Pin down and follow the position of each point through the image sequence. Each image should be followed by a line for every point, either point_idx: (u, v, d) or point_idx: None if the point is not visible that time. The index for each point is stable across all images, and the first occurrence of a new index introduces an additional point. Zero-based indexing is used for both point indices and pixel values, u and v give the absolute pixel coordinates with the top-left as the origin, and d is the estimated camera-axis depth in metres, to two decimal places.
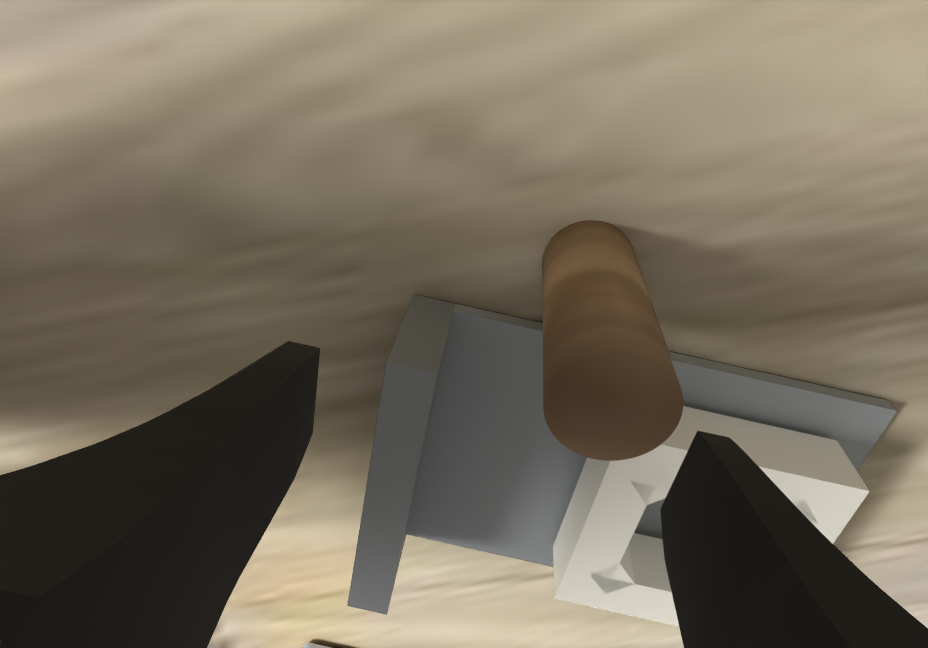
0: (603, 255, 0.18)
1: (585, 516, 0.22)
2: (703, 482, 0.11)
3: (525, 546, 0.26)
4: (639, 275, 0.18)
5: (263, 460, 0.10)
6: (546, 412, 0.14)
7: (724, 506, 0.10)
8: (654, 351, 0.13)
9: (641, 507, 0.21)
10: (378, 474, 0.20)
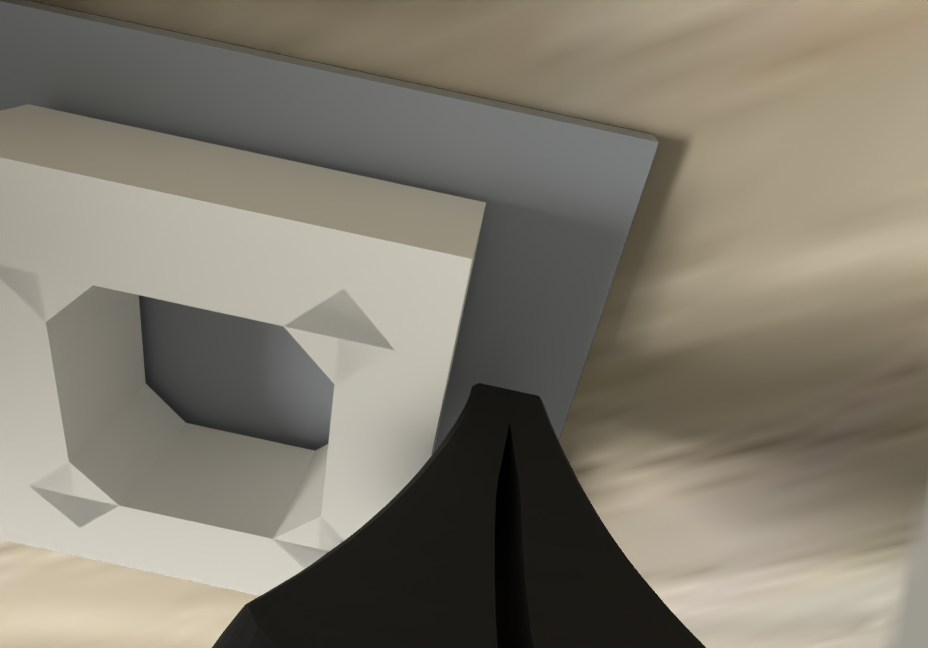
0: None
1: None
2: None
3: None
4: None
5: None
6: None
7: (504, 458, 0.10)
8: None
9: (39, 328, 0.10)
10: None
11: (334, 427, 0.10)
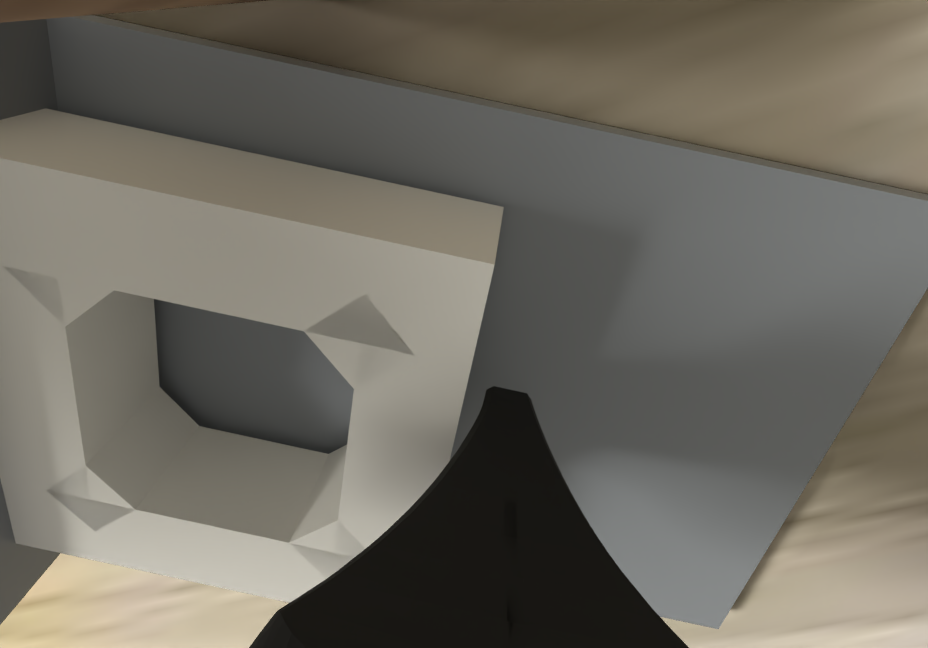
0: None
1: None
2: None
3: None
4: None
5: None
6: None
7: None
8: None
9: (58, 333, 0.10)
10: None
11: (352, 432, 0.10)
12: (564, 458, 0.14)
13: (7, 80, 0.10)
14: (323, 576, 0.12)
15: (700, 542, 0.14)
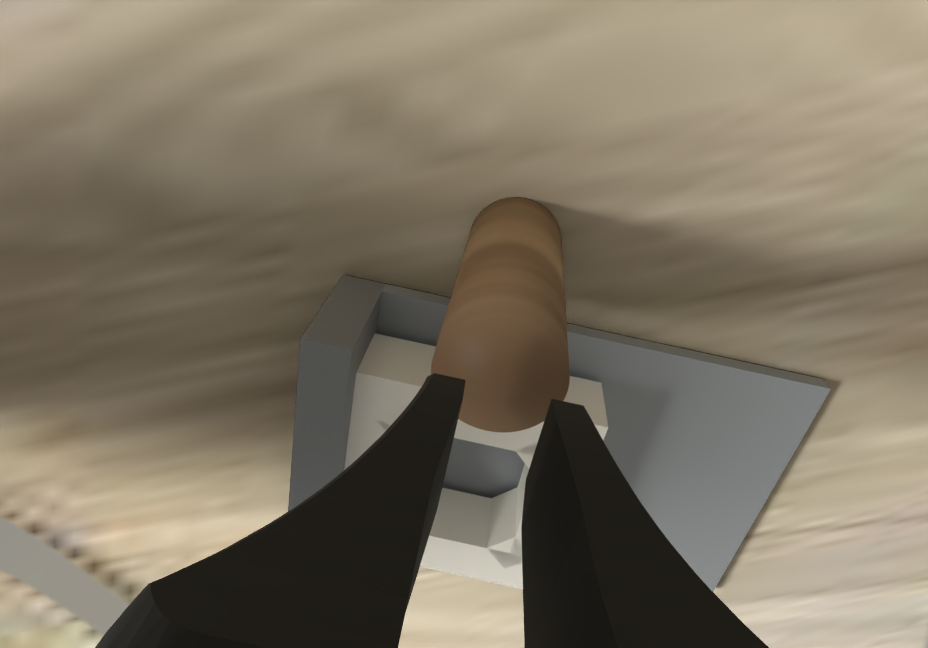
0: (515, 229, 0.17)
1: None
2: (547, 448, 0.11)
3: None
4: (552, 249, 0.17)
5: (434, 498, 0.10)
6: None
7: (556, 469, 0.10)
8: (539, 318, 0.13)
9: None
10: (302, 454, 0.20)
11: None
12: None
13: (371, 330, 0.21)
14: (501, 565, 0.23)
15: (698, 547, 0.25)
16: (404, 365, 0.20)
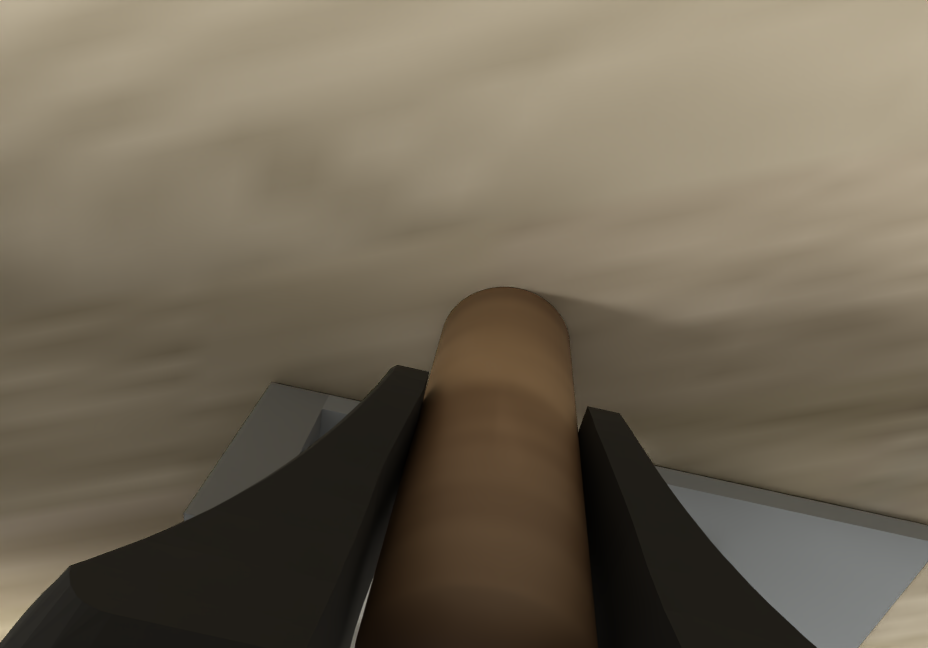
0: (503, 352, 0.11)
1: None
2: (586, 456, 0.11)
3: None
4: (560, 382, 0.12)
5: (390, 488, 0.10)
6: None
7: (597, 478, 0.10)
8: (544, 576, 0.07)
9: None
10: None
11: None
12: None
13: None
14: None
15: None
16: None
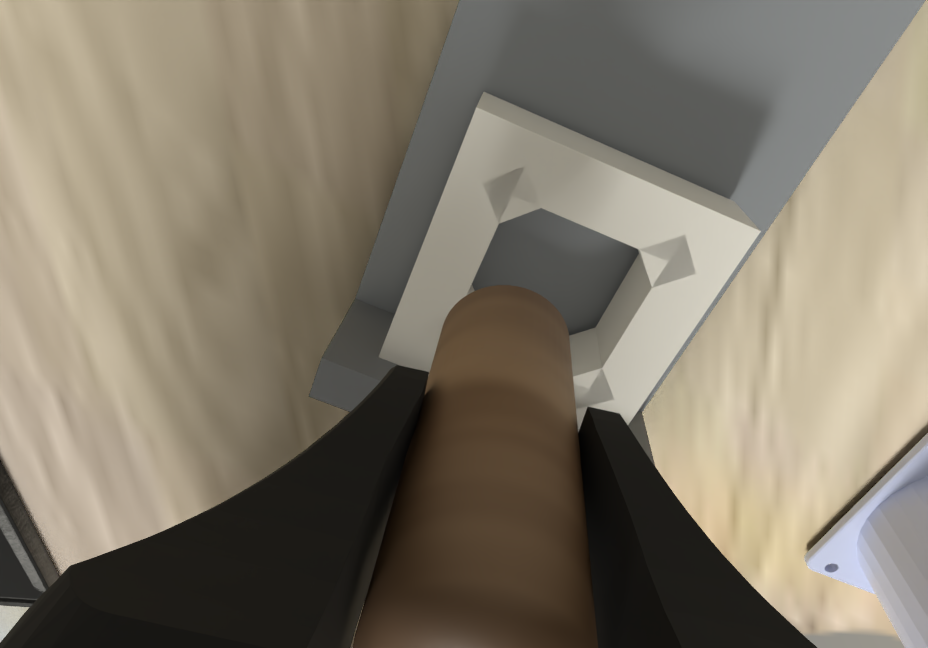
0: (501, 350, 0.11)
1: None
2: (586, 456, 0.11)
3: None
4: (558, 378, 0.11)
5: (391, 489, 0.10)
6: None
7: (597, 478, 0.10)
8: (541, 572, 0.07)
9: None
10: None
11: (571, 218, 0.17)
12: (696, 79, 0.17)
13: (373, 323, 0.21)
14: (689, 276, 0.17)
15: None
16: None
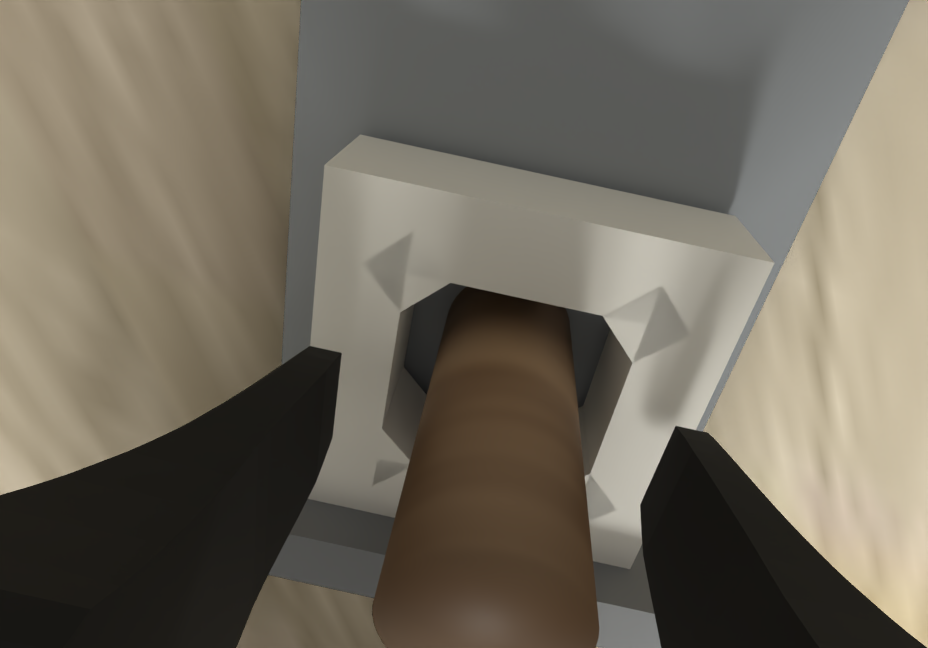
0: (505, 334, 0.12)
1: None
2: (680, 477, 0.11)
3: None
4: (560, 362, 0.12)
5: (289, 466, 0.10)
6: (380, 631, 0.09)
7: (699, 500, 0.10)
8: (545, 538, 0.08)
9: None
10: None
11: (496, 289, 0.12)
12: (645, 60, 0.12)
13: None
14: (682, 340, 0.12)
15: None
16: None
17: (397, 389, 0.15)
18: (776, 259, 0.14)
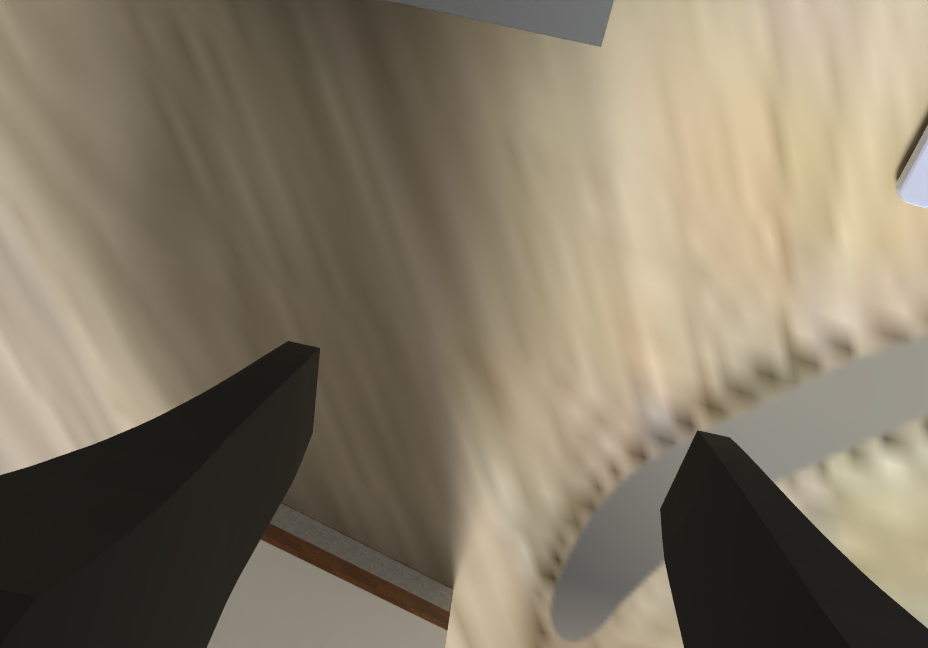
0: None
1: None
2: (703, 482, 0.11)
3: None
4: None
5: (263, 460, 0.10)
6: None
7: (724, 506, 0.10)
8: None
9: None
10: None
11: None
12: None
13: None
14: None
15: None
16: None
17: None
18: None
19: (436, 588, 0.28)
